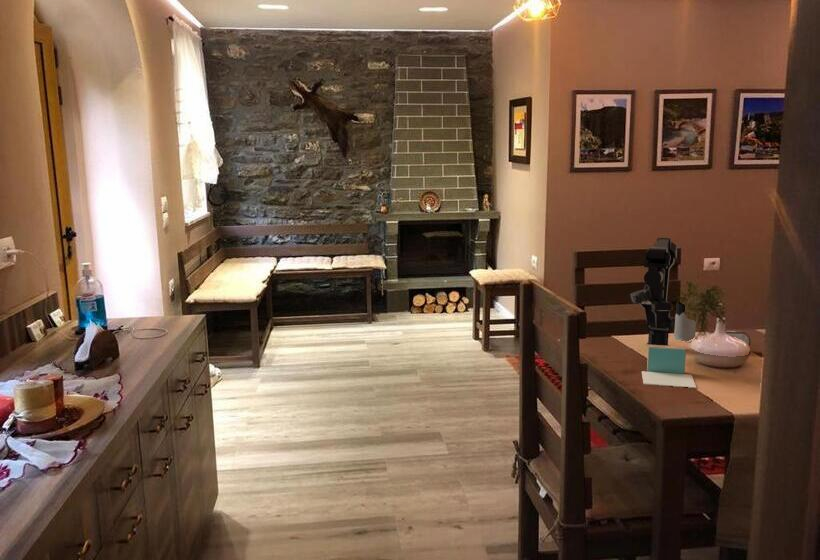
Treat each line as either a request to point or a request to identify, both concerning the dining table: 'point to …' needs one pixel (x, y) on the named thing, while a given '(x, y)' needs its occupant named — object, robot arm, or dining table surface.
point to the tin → (739, 335)
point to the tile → (666, 359)
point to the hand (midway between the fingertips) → (653, 325)
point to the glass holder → (683, 325)
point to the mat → (668, 379)
